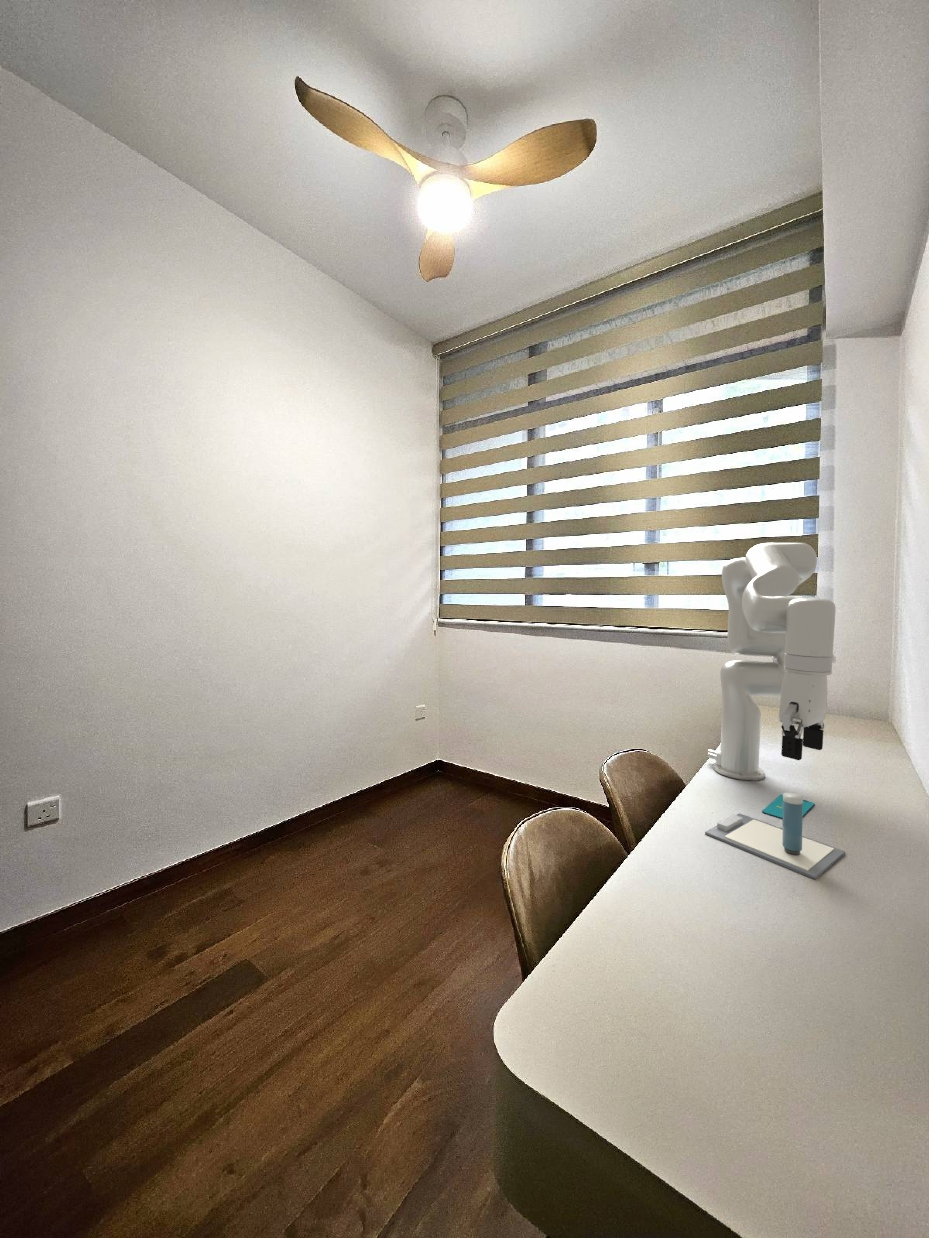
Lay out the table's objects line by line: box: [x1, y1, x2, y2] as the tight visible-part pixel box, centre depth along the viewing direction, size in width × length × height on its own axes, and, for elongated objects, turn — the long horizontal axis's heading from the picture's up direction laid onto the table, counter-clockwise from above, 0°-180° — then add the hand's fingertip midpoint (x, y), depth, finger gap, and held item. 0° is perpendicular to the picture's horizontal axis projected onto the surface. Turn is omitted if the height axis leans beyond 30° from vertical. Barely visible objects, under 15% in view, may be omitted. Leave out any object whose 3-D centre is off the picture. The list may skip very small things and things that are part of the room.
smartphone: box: [761, 793, 816, 820], centre depth 118 cm, size 7×1×15 cm
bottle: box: [782, 792, 804, 855], centre depth 97 cm, size 3×3×11 cm
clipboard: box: [704, 812, 846, 880], centre depth 101 cm, size 20×15×2 cm
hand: (802, 752), depth 96 cm, fingers open, 9 cm apart
